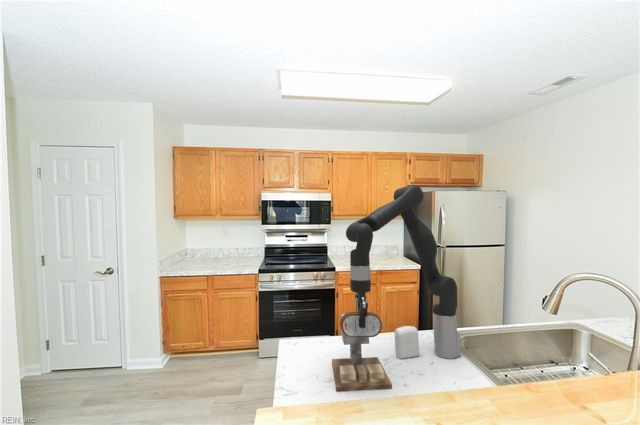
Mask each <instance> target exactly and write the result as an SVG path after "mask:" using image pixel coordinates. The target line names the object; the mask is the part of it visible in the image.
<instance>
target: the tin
mask: <svg viewBox="0 0 640 425" xmlns="http://www.w3.org/2000/svg"><path fill="white" fill-rule="evenodd" d="M362 313H364V312H362ZM344 314H345V315H343V317H341V318H340V322H339V326H340V329H341V332H342V331H343V333H344V334H345V335H346V336H348V337H369V338H374V337H377V336H378V335H379V334H380V333H381V331H382V329H383V323H382V320H381V318H380V317H379V316H378V314H376V313H375V312H373V311H367V317H365V321H366V327H365V328H360V327H359V316H358V315H359V312H356V311H348V312H347V313H344Z"/></svg>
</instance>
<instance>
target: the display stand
mask: <svg viewBox="0 0 640 425" xmlns="http://www.w3.org/2000/svg"><path fill="white" fill-rule="evenodd" d="M345 314H346V313H342V314H341V318H342V317H343V315H345ZM341 338H342V343H343V345H344V346H347V345H349V354H350V356H349V357H350V358H332V359H331V361H332V362H331V364H332V371H333V376H334V382H335V388H336V392H354V391H355V392H356V391H358V392H359V391H375V390H376V391H377V390H392V389H393V383H392V382H391V379H390V378H389V376H388V374H387V373H386V370H385V368H384V367H383V365H382V362H381V361H380V359H379V357H378V356H372V357H371V356H370V357H362V355H363V354H362V353H363V352H362V345H368V344H370V337H348V336H346V335H345V334H344V333H343V331H342V330H341Z"/></svg>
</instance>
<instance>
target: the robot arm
mask: <svg viewBox="0 0 640 425" xmlns="http://www.w3.org/2000/svg"><path fill="white" fill-rule="evenodd" d="M423 200H424V191H423V189H422V188H421V187H420V186H419V185H417V184H409V185H407V186H403V187H400V188H397V189H395V191H394V192H393V200H392V201H390V202H389V203H386V204H384V205H382V206H379V207H378V208H376V209H374V211H372V212H370V213H369V214H368V215H366V216H364V217H363V218H360V219H358V220H356V221H353V222H352V223H350V225H349V226H348V227H347V228H346V231H345V237H346V239H347V240H348V241H349V242H351V243H356V247H355V248H354V249H352V250H351V251H350V256H349V259H350V260H349V261H350V263H349V264H350V268H349V282H350V283H349V287H350V288H349V289H350V291H351V292H352V293H355V294H354V302H355V303H354V304H355V312H359V315H358V316H359V327H360V328H365V327H366V321H365V317H367V312H368V309H369V307H368V306H369V302H368V297H367V295H366V293H370V292H371V290H372V278H371V277H372V275H371V274H372V272H371V267H370V252H371V249H372V245H373V244H372V243H373V239H374V232H378V231H379V230H381V229H382V228H384V227H385V226H386V225H388V224H389V223H390V222H392V221H393V220H394V219H396V218H397V217H399V216H401V218H402V220H403V222H404V225H405V227H406V229H407V231H408V234H409V237H410V240H411V243H412V246H413V248H414V250H415V252H416V254H417V258H418V261H419V263H420V266H421V269H422V273H423V276H424V280H425V284H426V287H427V289H428V291H429V292H430V294H432V295H433V296H435V297H439V299H438V300H439V302H438V303H436V304H433V305H432V321H433V323H432V324H433V325H432V326H433V340H434V342H433V343H434V353H435V355H436V356H438V357H440V358H441V359H448V360H449V359H450V360H452V359H458V358H459V357H461V356H462V355H461V341H460V339H461V338H460V333H459V332H458V326H457V325H458V324H457V309H458V285H457V283H456V281H455V279H454V278H453V277H450V276H445V275H442V274H441V273H440V272H439V269H438V266H437V254H438V244H437V241H436V239H435V236H434V234H433V232H432V229H430V228H429V227H428V226H427V225H426V224H425V223H424V222H423V221H422V220H421V219H420V218H419V217H418V215H417V214H416V212H415V210H414V208H415V207H417V206H419V205H420V204H422V202H423ZM362 312H364V313H362Z"/></svg>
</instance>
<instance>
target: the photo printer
mask: <svg viewBox="0 0 640 425" xmlns="http://www.w3.org/2000/svg"><path fill="white" fill-rule="evenodd" d="M419 341H420V340H419V331H418V328H417V327H415V326H412V325H404V326H400V327H398V328H396V329H394V344H395V345H394V347H395V355H396V356H395V357H396V358H397V359H399V360H402V359H408V358H414V357H419V356H420V343H419Z"/></svg>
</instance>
